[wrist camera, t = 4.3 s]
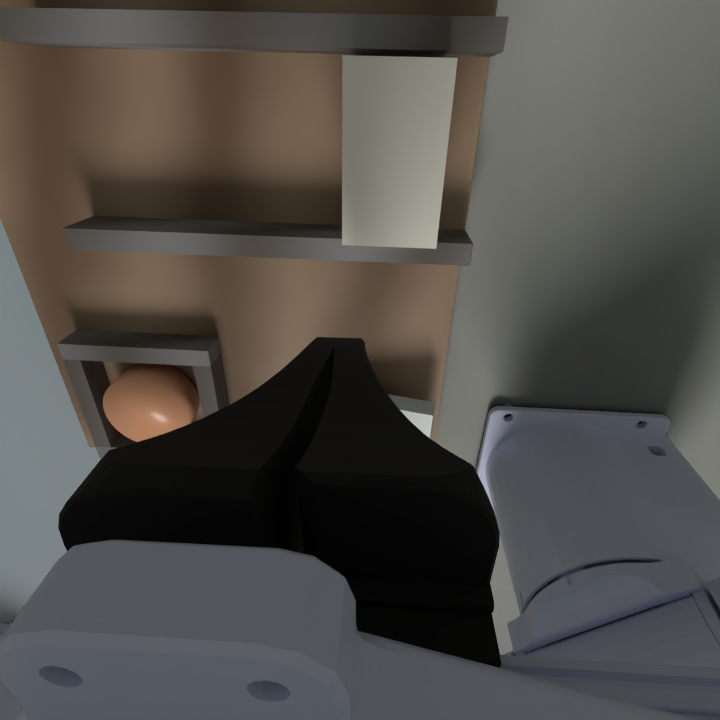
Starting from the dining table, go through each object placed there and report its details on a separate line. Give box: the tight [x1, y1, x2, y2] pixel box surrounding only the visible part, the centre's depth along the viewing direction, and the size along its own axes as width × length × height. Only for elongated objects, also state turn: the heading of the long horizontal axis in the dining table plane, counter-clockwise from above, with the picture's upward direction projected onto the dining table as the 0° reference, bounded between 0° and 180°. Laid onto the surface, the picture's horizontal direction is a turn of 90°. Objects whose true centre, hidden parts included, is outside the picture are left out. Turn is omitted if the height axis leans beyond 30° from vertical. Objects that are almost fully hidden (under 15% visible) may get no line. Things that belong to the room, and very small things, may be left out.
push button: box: [103, 363, 200, 442], centre depth 21 cm, size 4×4×2 cm
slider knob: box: [342, 55, 458, 249], centre depth 14 cm, size 3×5×4 cm, turn 179°
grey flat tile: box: [388, 394, 436, 439], centre depth 21 cm, size 5×4×1 cm
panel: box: [0, 0, 508, 458], centre depth 19 cm, size 19×20×4 cm
